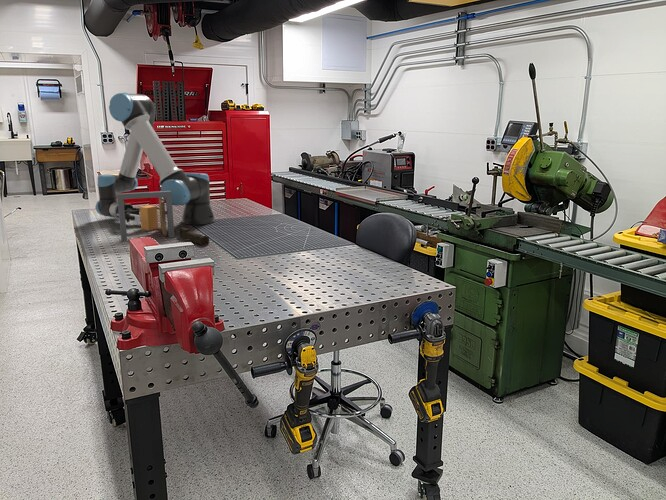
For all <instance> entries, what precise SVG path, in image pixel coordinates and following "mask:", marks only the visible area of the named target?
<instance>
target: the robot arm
mask: <svg viewBox="0 0 666 500" xmlns="http://www.w3.org/2000/svg"><path fill="white" fill-rule="evenodd" d="M108 110H109V114H110V116H111V117H112V118H113V119H114V120H115V121H117V122H121V124H122V125H123V127H124V128H125V130H128V131H130V133H129V136H128V141H127V144H126V147H125V151H124V154H123V158H122V162H121V166H120V169H119V171H118V172H119V173H118V176H115V175H114V174H108V173H107V174H99V175H98V176H97V189H98V198H99V200H98V201H97V202H96V204H95V210H96V212H97V214H99V215H100V216H101V215H102V216H104V217H108V218H109V217H110V218H116V219H117V220H119V210H118V200H117V194H121V193H125V192H126V193H128V192H131V191H134V190H135V189H137V188H138V186H139V183H138V178H136V177H137V174H138V173H137V172H138V170H139V167H140V163H141V159H142V156H143V153H144V154H145V155H146V158H147V159H148V161H149V162H150V164H151V165H152V167H153V168H154V170H155V171H156V172H157V174H158V176H159V181H158V183H159V185H160V191H171V193H172V206H174V207H175V206H184V208H183V212H182V215H181V222H182V223H183V224H187V225H206V224H211V223H214V222H215V221H216V219H215V214H214V211H213V208H212V207H211V195H210V194H211V193H210V176H209V175H208V173H197V172H185V171H184V169H182V168H178V166H177V165H176V163H175V162H174V160H173V158H172V157H171V155H170V153H169V151H168V150H167V149H166V147H165V145H164V144H163V142H162V140H161V139H160V138H159V135H158V134H157V132H156V130H155V129H154V124H155V120H156V108H155V103H154V102H153V101H152V99H151V98H150V97H148V95H145V94H141V93H128V92H119V93H115V94H113V96H112V97H111V98H110V100H109V106H108ZM162 199H163V200H164V202H166V197H162ZM124 210H125V221H126V223H130V221H132V222H133V221H134V222H138V223H141V222H142V221H141V216H140V207H134V206H133V204H131V203H127V202H124ZM157 217H160V208H159V207H157ZM165 217H166V218H167V214H165Z"/></svg>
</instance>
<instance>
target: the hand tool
mask: <svg viewBox="0 0 666 500" xmlns="http://www.w3.org/2000/svg"><path fill="white" fill-rule="evenodd" d="M178 232H179V237H180V238H181V239H182V240H185V241H187V240H188V241H192V242H194V243H196V244H199V245H200V246H202V247H204V246H208V245H209V244H210V237H209V236H208V235H203V234H200V233H196V232H192V231H191V230H190V229H189V228H186V227H180V228H179V231H178Z"/></svg>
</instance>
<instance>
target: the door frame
mask: <svg viewBox="0 0 666 500" xmlns="http://www.w3.org/2000/svg"><path fill="white" fill-rule="evenodd" d="M159 197H162V198H163V197H166V201H165V208H166V211H167V217H166V218H167V221H166V222H167V233H168V234H167V236H168V237H169V238H175V226H174V225H175V224H174V211H173V210H174V209H173V205H172V193H171V191H161V190H160V191H159V190H158V191H144V192H143V191H142V192H126V193H125V192H122V193H117V202H118V210H119V219H118V221H119V229H120V230H119V231H120V240H121V242H128V235H127V234H128V233H127V232H128V231H127V220H125V210H124V203H125V201H124V200H133V199H134V200H135V199H136V200H137V199H149V198H150V199H151V198H153V199H154V198H159Z"/></svg>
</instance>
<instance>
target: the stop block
mask: <svg viewBox="0 0 666 500" xmlns="http://www.w3.org/2000/svg"><path fill="white" fill-rule="evenodd" d="M139 208H140V212H139V214H140V216H141V221H142V222H140V226H141V228H140V229H141V230H144V229H145V231H154V230H157V229H159V220H158V218H159V217H158V216H157V206H156V205H150V204H146V205H143V206H139ZM153 229H154V230H153Z"/></svg>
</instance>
